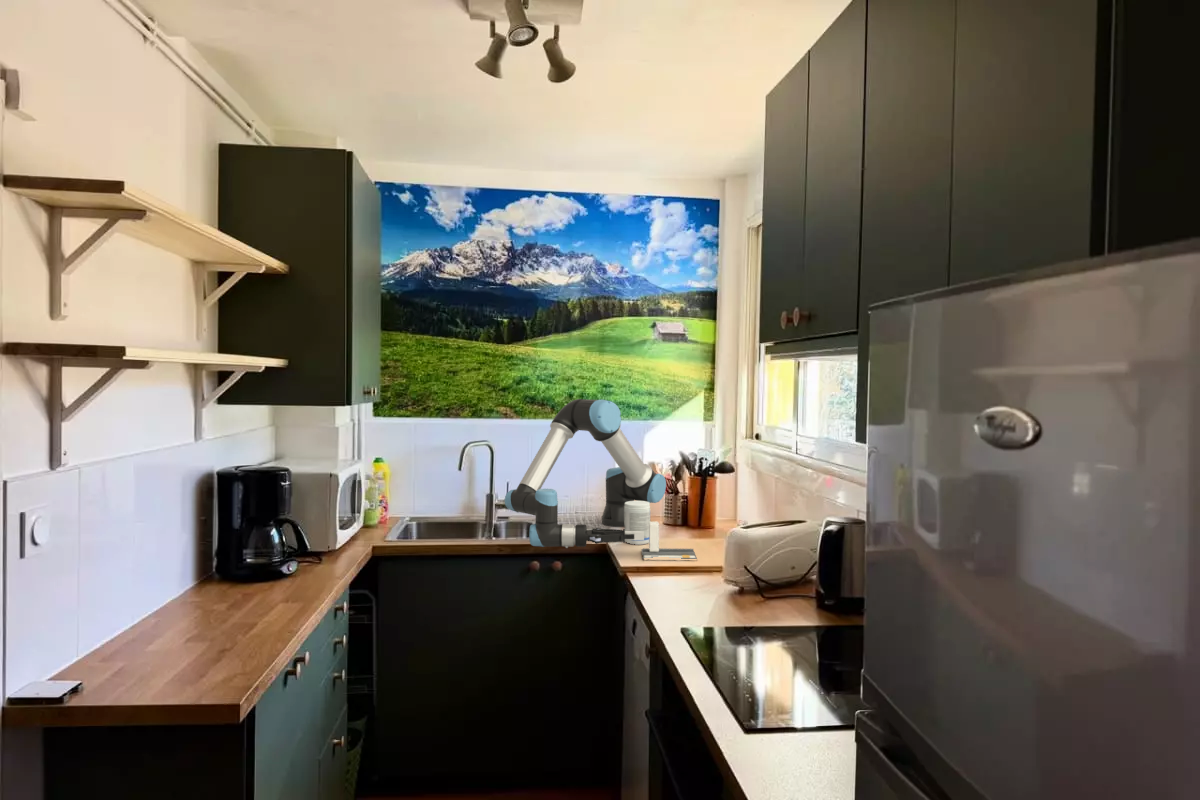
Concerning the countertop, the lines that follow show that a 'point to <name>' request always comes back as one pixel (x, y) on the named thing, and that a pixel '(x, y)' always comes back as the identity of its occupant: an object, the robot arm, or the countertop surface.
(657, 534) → the switch tab
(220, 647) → the countertop surface
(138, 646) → the countertop surface
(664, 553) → the switch housing
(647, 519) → the supplement tub
